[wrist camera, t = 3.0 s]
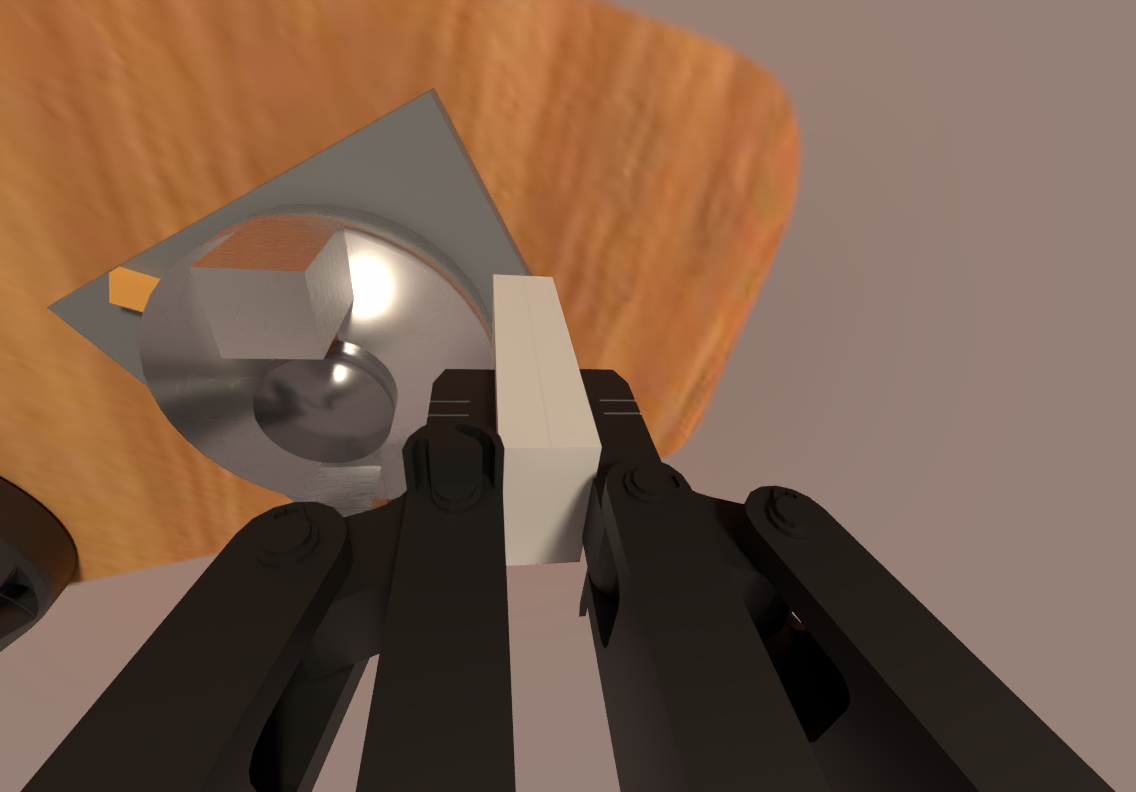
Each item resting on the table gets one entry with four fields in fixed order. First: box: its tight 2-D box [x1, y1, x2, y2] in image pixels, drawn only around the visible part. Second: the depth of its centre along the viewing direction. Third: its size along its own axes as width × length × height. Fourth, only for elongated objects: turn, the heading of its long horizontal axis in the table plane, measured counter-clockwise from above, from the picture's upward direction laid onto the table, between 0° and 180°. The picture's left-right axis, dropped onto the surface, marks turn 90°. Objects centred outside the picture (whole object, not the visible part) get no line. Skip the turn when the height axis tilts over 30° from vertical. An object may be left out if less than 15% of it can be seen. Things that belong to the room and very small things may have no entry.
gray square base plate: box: [47, 88, 578, 502], centre depth 21 cm, size 16×13×3 cm
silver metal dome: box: [139, 204, 492, 517], centre depth 17 cm, size 12×12×7 cm
